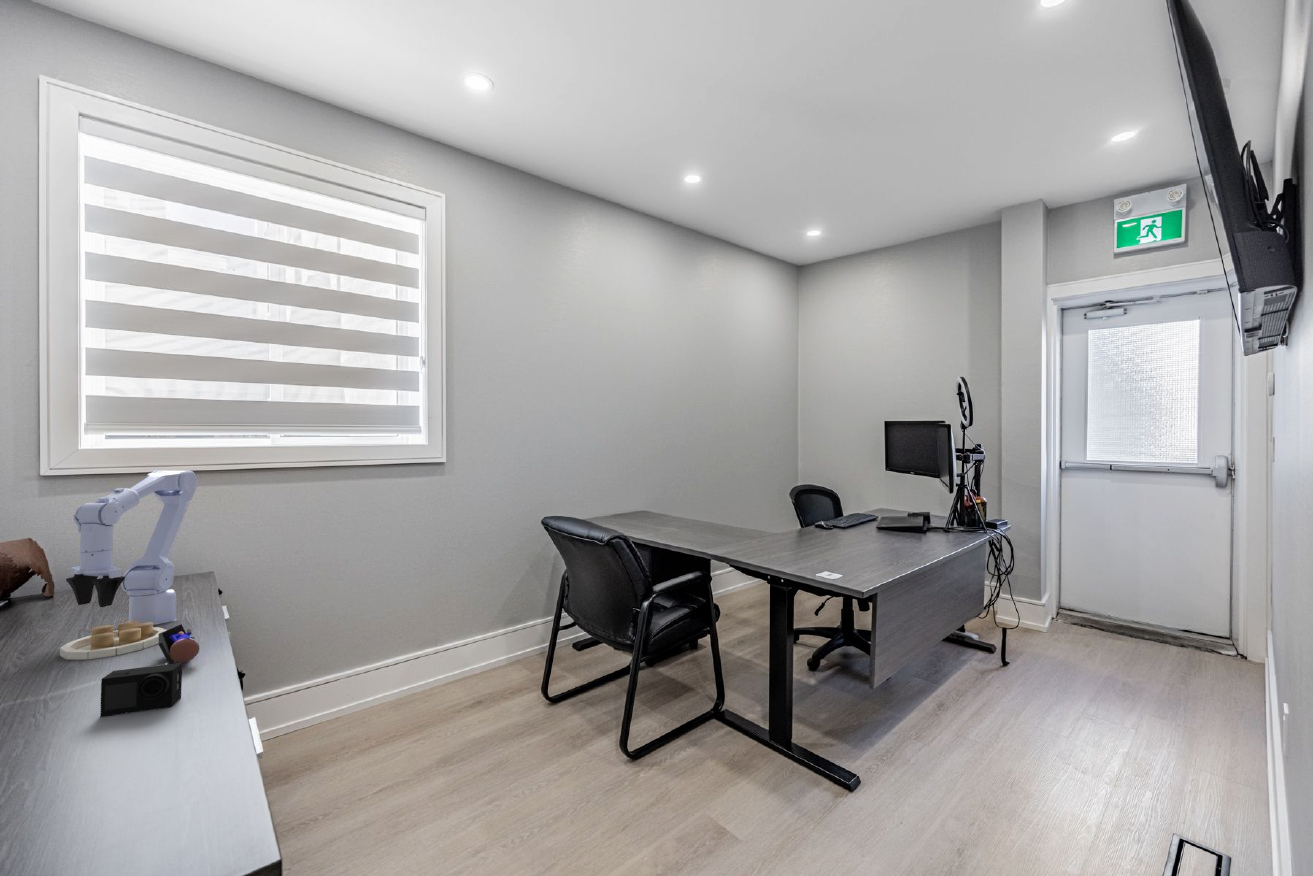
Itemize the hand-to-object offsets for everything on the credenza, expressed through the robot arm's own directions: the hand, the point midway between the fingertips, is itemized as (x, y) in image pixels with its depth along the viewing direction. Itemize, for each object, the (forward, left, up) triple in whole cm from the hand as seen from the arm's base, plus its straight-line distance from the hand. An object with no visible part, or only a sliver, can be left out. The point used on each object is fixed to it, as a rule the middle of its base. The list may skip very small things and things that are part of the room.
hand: (94, 605), depth 135 cm
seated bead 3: (-7, +9, -9) cm, 14 cm away
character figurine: (-6, +32, -10) cm, 34 cm away
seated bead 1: (+1, +11, -9) cm, 14 cm away
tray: (-2, +8, -10) cm, 13 cm away
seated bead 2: (-3, +12, -9) cm, 16 cm away
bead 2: (-5, +4, -9) cm, 11 cm away
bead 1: (-1, +3, -9) cm, 10 cm away
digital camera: (+8, +55, -10) cm, 56 cm away
